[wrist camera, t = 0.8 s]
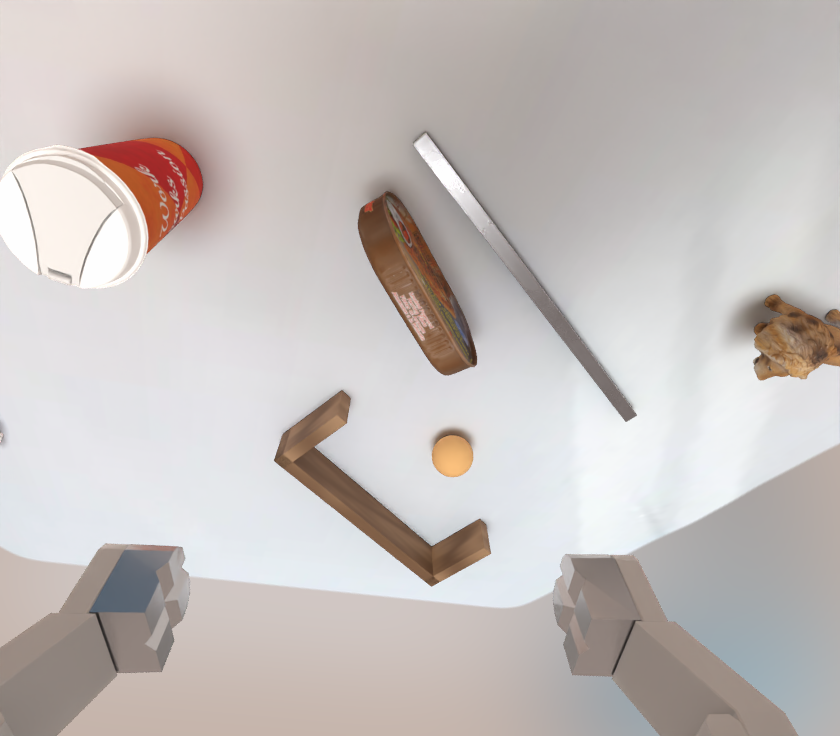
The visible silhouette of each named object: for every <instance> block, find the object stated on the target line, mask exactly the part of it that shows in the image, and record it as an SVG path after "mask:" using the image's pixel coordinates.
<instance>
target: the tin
mask: <svg viewBox="0 0 840 736" xmlns="http://www.w3.org/2000/svg"><path fill="white" fill-rule="evenodd" d="M358 230H359V234H360V238H361V241H362V244H363V247H364V250H365V252H366V255H367V257H368V259H369V261H370V263H371V265H372V268H373V270H374V272H375V273H376V275H377V277H378V279H379V280H380V282H381V284H382V285H383V287H384V289H385V290H386V292H387V294H388V295H389V297H390V299H391V300H392V302H393V304H394V305H395V307H396V309H397V310H398V312H399V314H400V315H401V317H402V318H403V320H404V322H405V323H406V325H407V327H408V328H409V330H410V331H411V333H412V335H413V336H414V338H415V339H416V341H417V343H418V344H419V346H420V347H421V349H422V351H423V352H424V354H425V355H426V357H427V358H428V360H429V361H430V363H431V364H432V365H433V366H434V367H435V369H436V370H437V371H438V372H440V373H441V374H443V375H451V374H454V373H457V372H459V371H462V370H464V369H467V368H469V367H475V366H476V365H477V355H476V350H475V346H474V342H473V339H472V336H471V333H470V330H469V327H468V324H467V322H466V319H465V317H464V315H463V312H462V310H461V308H460V306H459V304H458V302H457V300H456V298H455V296H454V294H453V292H452V291H451V289H450V287H449V285H448V283H447V281H446V280H445V278H444V276H443V274H442V272H441V271H440V269H439V267H438V265H437V263H436V261H435V259H434V257H433V256H432V254H431V252H430V250H429V248H428V246H427V244H426V243H425V241H424V239H423V237H422V235H421V233H420V232H419V230H418V228H417V226H416V224H415V223H414V221H413V219H412V217H411V216H410V214H409V213H408V211H407V210H406V208H405V207H404V205H403V204H402V203H401V201H400V200H399V199H398V198H397V197H396V196H395V195H394V194H393V193H391V192H388V191H387V192H385V193H384V194H383V195H382V196H381V197H379V198H377V199H375V200H373V201H371V202H370V203H368V204H366V205H365V206H363V207H362V208H361V210H360V213H359V219H358Z"/></svg>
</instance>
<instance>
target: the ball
mask: <svg viewBox="0 0 840 736" xmlns="http://www.w3.org/2000/svg"><path fill="white" fill-rule="evenodd" d="M432 461H433V464H434V466H435V468H436V469H437V470H438V471H439V472H440V473H441V474H443V475H445V476H448V477H457V476H461V475H463V474H464V473H466V472H467V471H468V470H469V468H470V467H471V465H472V462H473V451H472V448H471V446H470V444H469V443H468V442H467V441H466V440H465V439H463V438H462V437H459V436H455V435H449V436H445V437H443V438H442V439H440V440H439V441H438V442H437V443H436V444H435V446H434V448H433V451H432Z"/></svg>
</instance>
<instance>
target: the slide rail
mask: <svg viewBox="0 0 840 736" xmlns="http://www.w3.org/2000/svg"><path fill="white" fill-rule="evenodd" d="M413 146H414V147H415V148H416V149H417V151H418V152H419V153H420V155H421V156H422V157H423V159H424V160H425V161H426V162H427V164H428V165H429V166H430V168H431V169H432V170H433V172H434V173H435V174H436V175H437V177H438V178H439V179H440V181H441V182H442V183H443V185H444V186H445V187H446V189H447V190H448V191H449V192H450V194H451V195H452V196H453V198H454V199H455V200H456V202H457V203H458V204H459V205H460V207H461V208H462V209H463V211H464V212H465V213H466V215H467V216H468V217H469V218H470V220H471V221H472V222H473V224H474V225H475V226H476V228H477V229H478V230H479V231H480V233H481V234H482V235H483V237H484V238H485V239H486V241H487V242H488V243H489V244H490V246H491V247H492V248H493V250H494V251H495V252H496V254H497V255H498V256H499V257H500V259H501V260H502V261H503V263H504V264H505V265H506V267H507V268H508V269H509V271H510V272H511V273H512V274H513V276H514V277H515V278H516V280H517V281H518V282H519V284H520V285H521V286H522V287H523V289H524V290H525V291H526V293H527V294H528V295H529V297H530V298H531V299H532V300H533V302H534V303H535V304H536V306H537V307H538V308H539V310H540V311H541V312H542V313H543V315H544V316H545V317H546V319H547V320H548V321H549V323H550V324H551V325H552V326H553V328H554V329H555V330H556V332H557V333H558V334H559V336H560V337H561V338H562V339H563V341H564V342H565V343H566V345H567V346H568V347H569V349H570V350H571V351H572V352H573V354H574V355H575V356H576V358H577V359H578V360H579V362H580V363H581V364H582V366H583V367H584V368H585V369H586V371H587V372H588V373H589V375H590V376H591V377H592V379H593V380H594V381H595V382H596V384H597V385H598V386H599V388H600V389H601V390H602V392H603V393H604V394H605V395H606V397H607V398H608V399H609V401H610V402H611V403H612V405H613V406H614V407H615V408H616V410H617V411H618V412H619V414H620V415H621V416H622V418H623V419H624V420H625V421H626V422H627V421H628V420H630V419H632V418H633V417H635V416H637V414H636V413H635V411H634V410H633V408H632V407H631V406H630V404H629V403H628V401H627V400H626V399H625V397H624V396H623V395H622V393H621V392H620V391H619V389H618V388H617V387H616V385H615V384H614V383H613V381H612V380H611V379H610V377H609V376H608V375H607V373H606V372H605V371H604V369H603V368H602V367H601V365H600V364H599V363H598V361H597V360H596V359H595V357H594V356H593V355H592V353H591V352H590V351H589V349H588V348H587V347H586V345H585V344H584V343H583V341H582V340H581V339H580V337H579V336H578V335H577V333H576V332H575V331H574V329H573V328H572V327H571V325H570V324H569V323H568V321H567V320H566V319H565V317H564V316H563V315H562V313H561V312H560V311H559V309H558V308H557V307H556V305H555V304H554V303H553V301H552V300H551V299H550V297H549V296H548V295H547V293H546V292H545V291H544V289H543V288H542V287H541V285H540V284H539V282H538V281H537V280H536V278H535V277H534V276H533V274H532V273H531V272H530V270H529V269H528V268H527V266H526V265H525V264H524V262H523V261H522V260H521V258H520V257H519V256H518V254H517V253H516V252H515V250H514V249H513V248H512V246H511V245H510V244H509V242H508V241H507V240H506V238H505V237H504V236H503V234H502V233H501V232H500V230H499V229H498V228H497V226H496V225H495V224H494V222H493V221H492V220H491V218H490V217H489V216H488V214H487V213H486V212H485V210H484V209H483V208H482V206H481V205H480V204H479V202H478V201H477V200H476V198H475V197H474V196H473V194H472V193H471V192H470V190H469V189H468V188H467V186H466V185H465V184H464V182H463V181H462V180H461V178H460V177H459V176H458V174H457V173H456V172H455V170H454V169H453V168H452V166H451V165H450V164H449V162H448V161H447V159H446V158H445V157H444V155H443V154H442V153H441V151H440V150H439V149H438V147H437V146H436V145H435V143H434V142H433V141H432V139H431V138H430V137H429V135H428V134H427V133H426V132H424V133H423V134H422V135H421V136H420V137H419V138H418V139H416V140H415V141H414V142H413Z"/></svg>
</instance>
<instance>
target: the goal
mask: <svg viewBox="0 0 840 736" xmlns="http://www.w3.org/2000/svg"><path fill="white" fill-rule="evenodd" d="M350 400H351V398H350V397H349V396H348V395H347V394H346V393H344V392H343V391H340V392H339V393H338V394H336V395H335V396H334V397H332V398H331V399H329V400H328V401H327V402H325V403H324V404H323V405H321V406H320V407H319V408H317V409H316V410H315V411H313V412H312V413H311V414H309V415H308V416H307V417H305V418H304V419H303V420H301V421H300V422H299V423H297V424H296V425H295V426H293V427H292V428H290V429H289V430H288V431H286V432H285V433H284V434H283V435H282V438H281V441H280V444H279V447H278V450H277V453H276V456H275V459H274V461H275V462H276V463H277V464H278V465H280V466H281V467H282V468H283V469H285V470H286V471H287V472H288V473H290V474H291V475H292V476H293V477H295V478H296V479H297V480H298V481H300V482H301V483H302V484H304V485H305V486H306V487H307V488H309V489H310V490H311V491H312V492H314V493H315V494H316V495H317V496H319V497H320V498H321V499H322V500H324V501H325V502H326V503H327V504H329V505H330V506H331V507H332V508H334V509H335V510H336V511H337V512H339V513H340V514H341V515H342V516H344V517H345V518H346V519H347V520H349V521H350V522H351V523H352V524H354V525H355V526H356V527H357V528H359V529H360V530H361V531H362V532H364V533H365V534H366V535H367V536H369V537H370V538H371V539H372V540H374V541H375V542H376V543H377V544H379V545H380V546H381V547H382V548H384V549H385V550H386V551H387V552H389V553H390V554H391V555H392V556H394V557H395V558H396V559H397V560H399V561H400V562H401V563H402V564H404V565H405V566H406V567H407V568H409V569H410V570H411V571H412V572H414V573H415V574H416V575H417V576H419V577H420V578H421V579H423V580H424V581H425V582H426V583H428V584H429V585H430V586H431V587H432V586H433V585H435V584H437V583H439V582H441V581H442V580H444V579H446V578H448V577H450V576H452V575H453V574H455V573H457V572H459V571H461V570H462V569H464V568H466V567H468V566H470V565H471V564H473V563H475V562H477V561H479V560H481V559H482V558H484V557H486V556H488V555H490V554H491V551H490V545H489V539H488V533H487V527H486V524H485V523H484V522H483V521H481V520H480V519H479V520H477V521H475V522H474V523H472V524H470V525H468V526H467V527H465V528H463V529H462V530H460V531H458V532H456V533H455V534H453V535H451V536H449V537H448V538H446V539H444V540H443V541H441V542H439V543H437V544H436V545H434V546H432V547H431V546H430V545H429V544H428V543H426V542H425V541H424V540H423V539H422V538H421V537H419V536H418V535H417V534H416V533H415V532H413V531H412V530H411V529H410V528H409V527H408V526H406V525H405V524H404V523H403V522H402V521H401V520H399V519H398V518H397V517H396V516H395V515H393V514H392V513H391V512H390V511H389V510H388V509H386V508H385V507H384V506H383V505H382V504H380V503H379V502H378V501H377V500H376V499H375V498H373V497H372V496H371V495H370V494H369V493H367V492H366V491H365V490H364V489H363V488H362V487H360V486H359V485H358V484H357V483H356V482H354V481H353V480H352V479H351V478H350V477H349V476H347V475H346V474H345V473H344V472H343V471H341V470H340V469H339V468H338V467H337V466H336V465H334V464H333V463H332V462H331V461H330V460H328V459H327V458H326V457H325V456H324V455H323V454H321V453H320V452H319V451H318V450H317V449H315V448H314V446H316V445H317V444H319V443H320V442H321V441H323V440H324V439H326V438H327V437H328V436H330V435H331V434H333V433H334V432H335V431H337V430H338V429H340V428H341V427H342V426H344V425H345V424H347V418H348V412H349V406H350Z"/></svg>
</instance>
